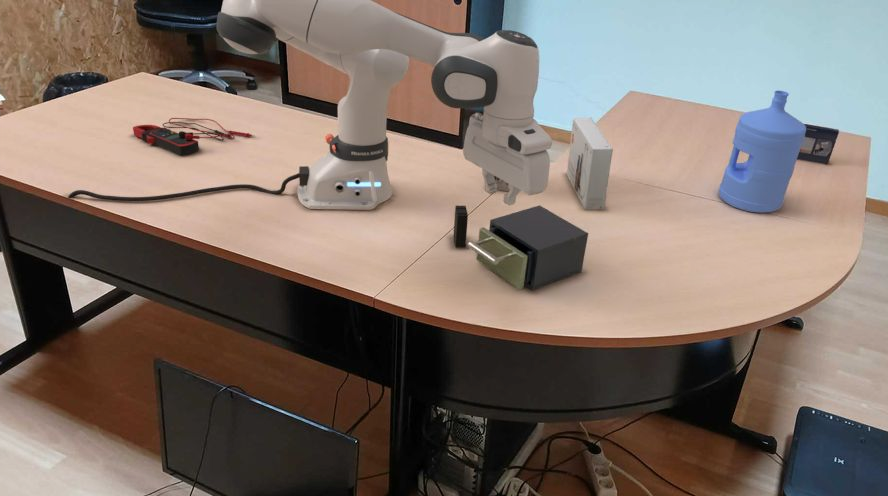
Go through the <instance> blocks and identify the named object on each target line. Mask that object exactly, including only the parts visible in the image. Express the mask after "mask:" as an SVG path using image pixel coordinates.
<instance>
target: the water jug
mask: <svg viewBox="0 0 888 496" xmlns="http://www.w3.org/2000/svg"><path fill="white" fill-rule="evenodd" d="M789 95H790V93H789V92H787V91H784V90H775V91H774V95H773V98H772V100H771V104H770V106H769V107H767V108H761V109H757V110H751V111H746V112H744V113H742V114H741V115H740V116H739V118H738V122H737V124H736V127H735V130H734V136H733V139H732V145H733V146H732V150H731V154H730V157H729V160H728V165H727V166H726V167H725V169H724V172H723V176H722V179H721V183H720V184H719V188H718V195H719V198H720V199H721V200H722V201H724V203H726V204H727V205H729V206H731V207H734V208H735V209H738V210H742V211H745V212H751V213H757V214H758V213H760V214H768V213H773V212H776V211H778V210H780V209H781V207H783V204H784V202H785V196H786V193H787V190H788V188H789V184H790V181H791V178H792V177H793V174H794V171H795V166H796V163H797V160H798V159H797V157H798V154H799V151H800V148H801V146H802V144H803V141H804V137H805V133H806V126H805V125H804V124H805V123H803V121H800V120H799V119H798V118H796V117H795V116H793V115H792V114H790V113H789V112H787V111H786V110H785V107H786V104H787V102H788V97H789ZM740 152H742V153H744V154H747V155H748V157H747V160H746V161H744V162H738V159H739V155H740Z"/></svg>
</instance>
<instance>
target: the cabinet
mask: <svg viewBox="0 0 888 496" xmlns="http://www.w3.org/2000/svg"><path fill="white" fill-rule="evenodd" d="M493 227H497V228H498V229H500V230H501V231H503V232H505V233H506V234H508V235H509V236H511V237H512V238H514V239H515V240H517V241H519V242H520V243H522V244H523V245H525V246H526V247H528V248H530V249H531V250H533V251H534V252H535V257H534V265H533V272H532V279H531V282H528V283H525V282H524V286H526V287H527V288H529V289H530V290H531V291H535V290H538V289H540V288H543V287H547V286H548V285H551V284H553V283H557V282H559V281H562V280H564V279H567V278H570V277H572V276H575V275H577V274H579V273H582V272H583V266H584V261H585V254H586V250H587V244H588V238H589V232H587V231H585V230H583V229H582V228H580V227H578V226H577V225H575V224H573V223H571V222H569V221H568V220H566V219H565V218H562V217H561V216H559V215H557V214H555V213H554V212H552V211H550V210H549V209H547V208H545V207H543V206H542V205H536V206H533V207H529V208H525V209H523V210H519V211H516V212H512V213H509V214H505V215H502V216H498V217H495V218H492V219H489V229H488V230H489V231H490V232H491V228H493Z"/></svg>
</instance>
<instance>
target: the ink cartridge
mask: <svg viewBox="0 0 888 496" xmlns="http://www.w3.org/2000/svg"><path fill="white" fill-rule="evenodd" d="M468 220H469V214H468V210H467V206H466V205H457V204H456V205H455V207H454V223H453V236H452V237H453V243H454V247H455V248H466V246H467V232H468V222H469V221H468Z"/></svg>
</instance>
